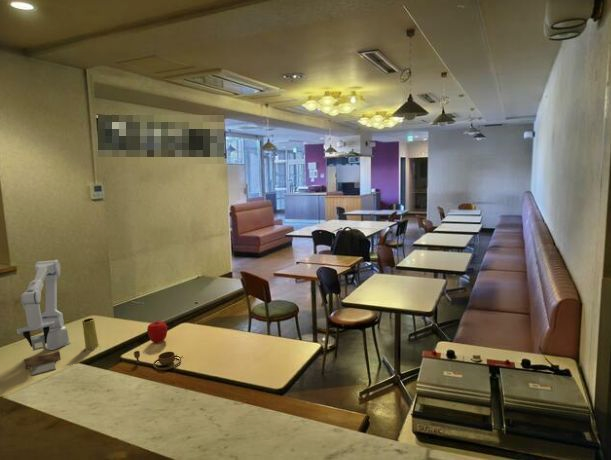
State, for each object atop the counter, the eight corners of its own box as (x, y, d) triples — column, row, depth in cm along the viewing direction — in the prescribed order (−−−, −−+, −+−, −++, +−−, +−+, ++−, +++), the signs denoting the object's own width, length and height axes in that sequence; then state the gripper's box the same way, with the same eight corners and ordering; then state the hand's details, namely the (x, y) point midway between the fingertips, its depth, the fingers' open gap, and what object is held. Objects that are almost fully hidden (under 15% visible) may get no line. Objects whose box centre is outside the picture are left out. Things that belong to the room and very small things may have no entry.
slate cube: (45, 344, 199) (43, 334, 198) (45, 347, 195) (44, 337, 194) (33, 347, 196) (31, 337, 195) (33, 350, 192) (31, 340, 191)
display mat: (54, 361, 196) (54, 360, 196) (55, 369, 188) (55, 368, 188) (31, 367, 191) (31, 366, 191) (32, 375, 184) (31, 374, 183)
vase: (85, 350, 206) (81, 323, 204) (85, 346, 211) (81, 319, 209) (99, 347, 209) (95, 320, 206) (98, 343, 214) (94, 316, 212)
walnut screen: (60, 358, 199) (59, 350, 199) (60, 359, 198) (59, 351, 198) (25, 367, 192) (23, 359, 191) (25, 368, 191) (23, 360, 190)
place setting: (157, 377, 178) (155, 364, 176) (132, 365, 190) (130, 353, 189) (191, 360, 191) (190, 348, 190) (166, 350, 203) (164, 338, 202)
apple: (164, 345, 207) (162, 324, 205) (145, 346, 207) (142, 325, 205) (171, 337, 217) (169, 317, 215) (153, 337, 217) (150, 318, 215)
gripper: (14, 323, 186) (19, 351, 188) (52, 315, 193) (57, 342, 196) (15, 318, 192) (20, 346, 194) (52, 311, 199) (56, 338, 202)
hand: (38, 344), depth 195 cm, fingers closed on slate cube, 5 cm apart
